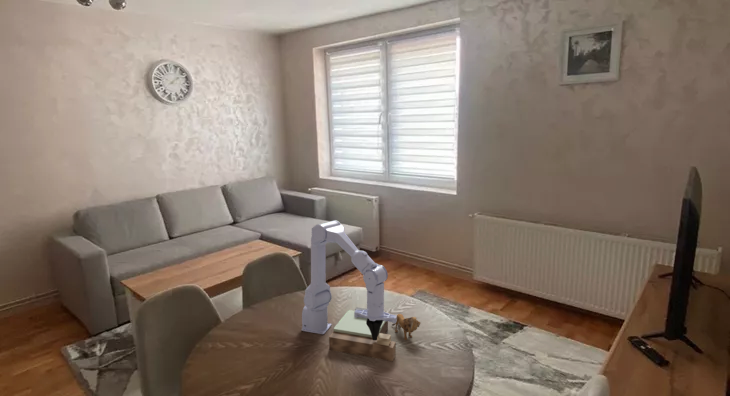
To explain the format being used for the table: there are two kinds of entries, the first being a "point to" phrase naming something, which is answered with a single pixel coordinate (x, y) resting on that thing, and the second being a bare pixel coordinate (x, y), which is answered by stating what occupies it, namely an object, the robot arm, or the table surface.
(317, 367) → the table surface
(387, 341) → the wooden key
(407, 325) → the lion figurine
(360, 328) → the lid
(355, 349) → the wooden box
